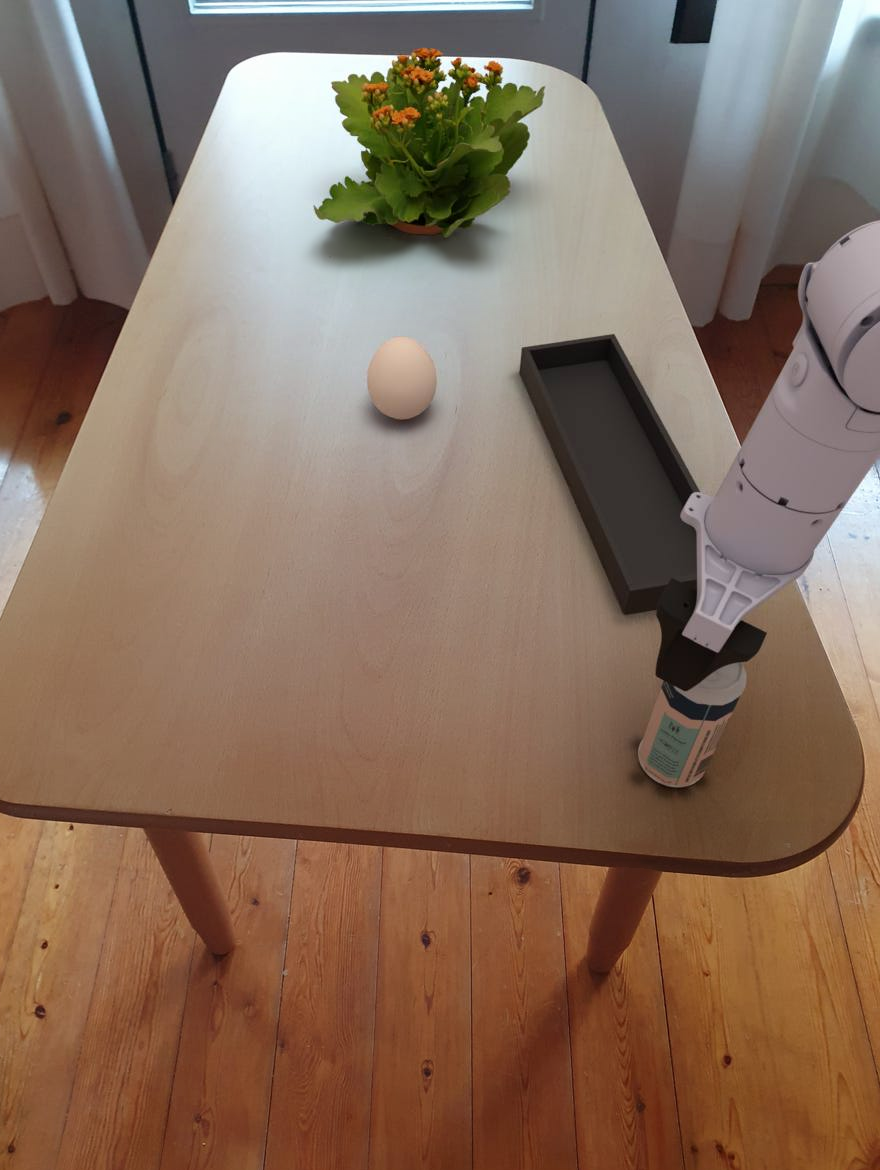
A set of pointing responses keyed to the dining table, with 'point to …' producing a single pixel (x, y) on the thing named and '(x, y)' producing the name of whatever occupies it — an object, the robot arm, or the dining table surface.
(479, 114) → the potted flower
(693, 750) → the beer can
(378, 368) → the egg
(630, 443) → the baking pan
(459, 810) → the dining table surface
